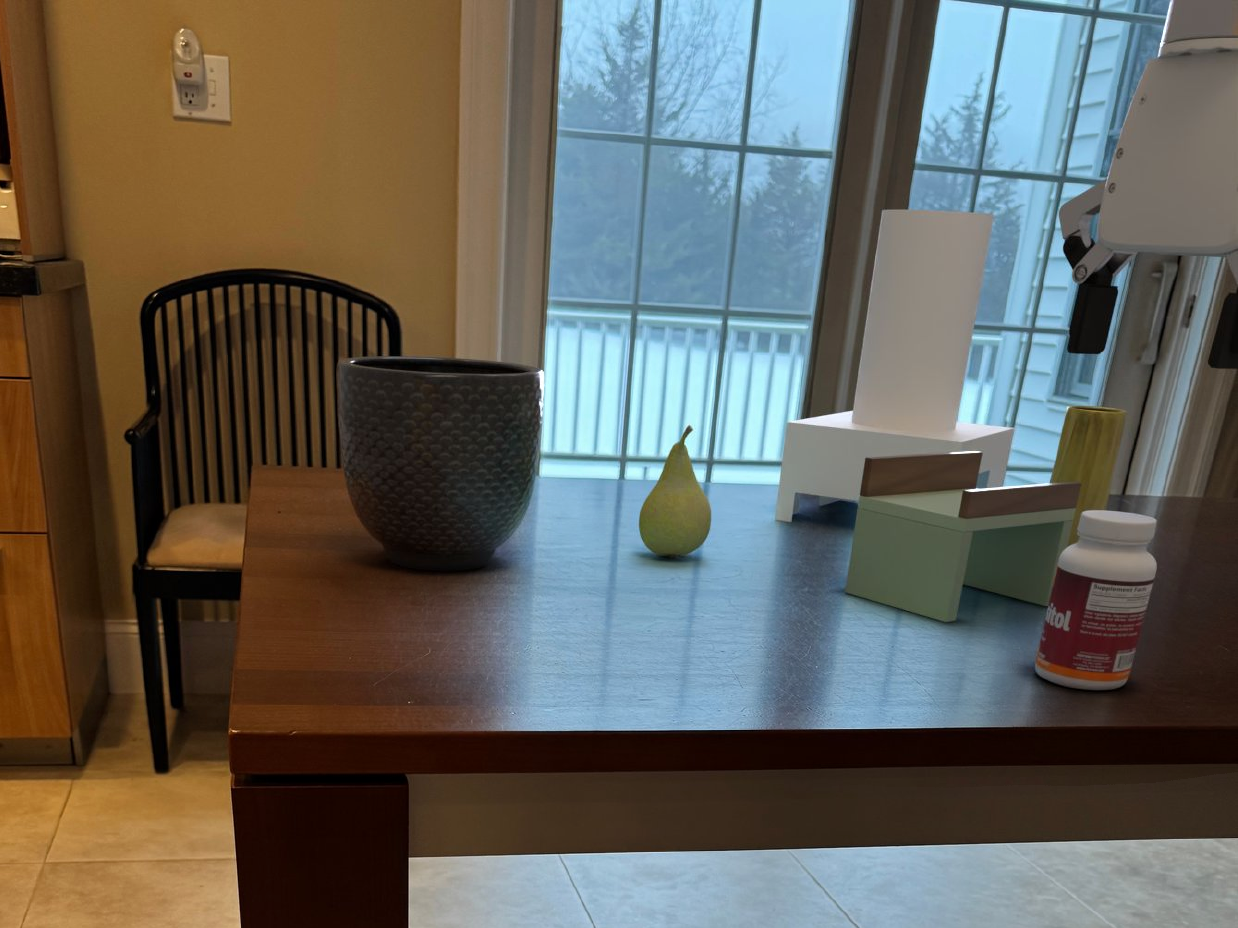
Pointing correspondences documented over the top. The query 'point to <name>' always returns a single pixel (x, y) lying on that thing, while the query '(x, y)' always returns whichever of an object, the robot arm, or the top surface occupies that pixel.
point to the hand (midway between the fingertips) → (1152, 360)
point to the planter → (439, 454)
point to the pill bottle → (1098, 602)
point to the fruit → (675, 507)
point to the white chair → (904, 364)
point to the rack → (954, 534)
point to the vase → (1089, 456)
